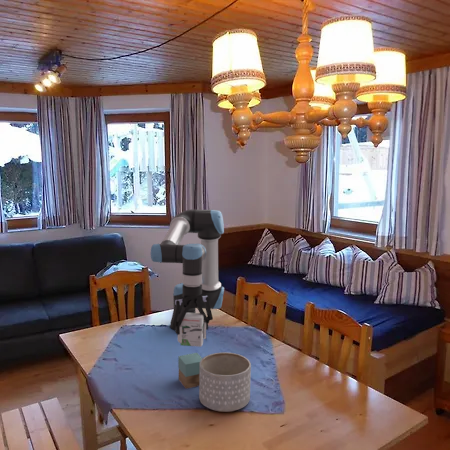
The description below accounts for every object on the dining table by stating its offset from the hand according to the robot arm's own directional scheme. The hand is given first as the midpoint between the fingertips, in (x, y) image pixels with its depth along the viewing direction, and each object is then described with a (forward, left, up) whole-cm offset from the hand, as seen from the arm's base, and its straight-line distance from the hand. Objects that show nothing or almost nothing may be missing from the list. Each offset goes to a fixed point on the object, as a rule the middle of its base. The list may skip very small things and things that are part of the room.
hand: (191, 339), depth 166 cm
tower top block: (0, 0, -13) cm, 13 cm away
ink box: (0, 0, -2) cm, 2 cm away
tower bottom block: (0, 0, -18) cm, 18 cm away
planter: (-6, +18, -18) cm, 26 cm away
